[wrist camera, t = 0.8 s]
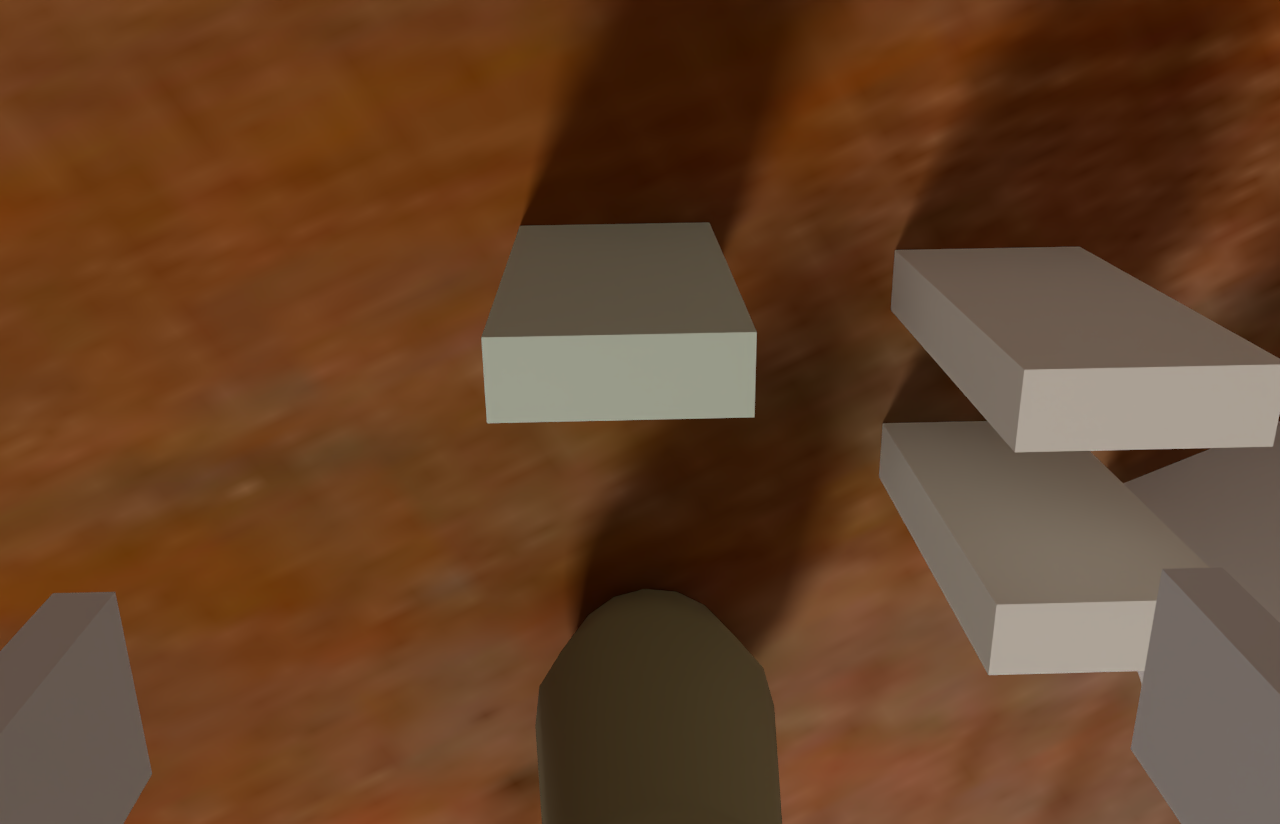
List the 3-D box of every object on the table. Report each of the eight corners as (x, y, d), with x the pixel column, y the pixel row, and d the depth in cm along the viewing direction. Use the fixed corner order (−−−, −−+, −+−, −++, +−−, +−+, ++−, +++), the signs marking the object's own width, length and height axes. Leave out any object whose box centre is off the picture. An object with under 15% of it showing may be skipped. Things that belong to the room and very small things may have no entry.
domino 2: (1071, 306, 37) (1273, 446, 26) (890, 309, 37) (1014, 452, 26) (1079, 246, 37) (1290, 364, 25) (894, 249, 36) (1024, 369, 25)
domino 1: (708, 283, 37) (754, 417, 25) (523, 287, 36) (487, 423, 25) (709, 222, 36) (757, 331, 25) (520, 225, 36) (481, 337, 25)
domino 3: (1050, 472, 39) (1226, 668, 28) (878, 476, 39) (988, 675, 28) (1057, 419, 39) (1241, 598, 27) (882, 423, 39) (996, 604, 27)
